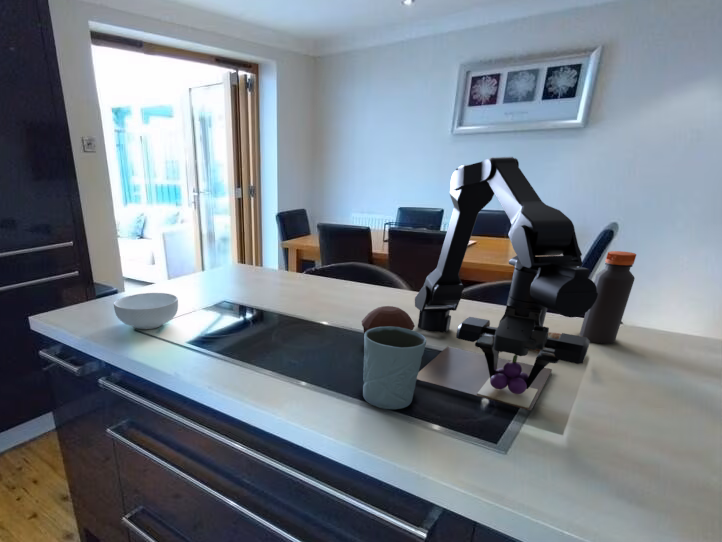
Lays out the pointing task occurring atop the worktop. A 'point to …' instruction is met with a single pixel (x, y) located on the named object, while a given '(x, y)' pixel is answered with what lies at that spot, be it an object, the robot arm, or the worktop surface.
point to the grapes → (510, 377)
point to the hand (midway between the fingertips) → (509, 383)
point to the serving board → (479, 377)
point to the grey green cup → (391, 366)
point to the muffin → (387, 318)
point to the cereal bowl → (146, 309)
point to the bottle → (609, 298)
